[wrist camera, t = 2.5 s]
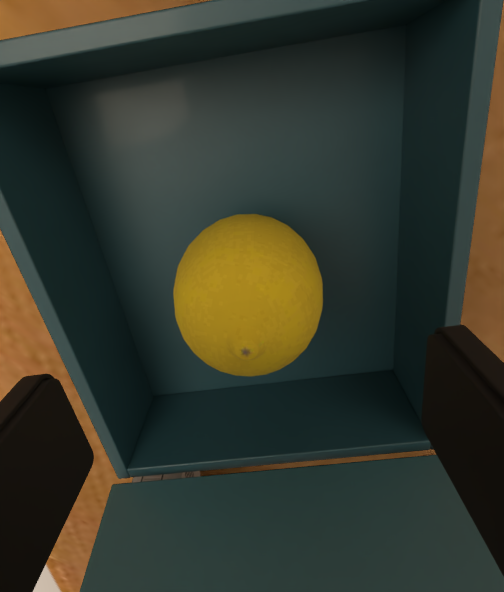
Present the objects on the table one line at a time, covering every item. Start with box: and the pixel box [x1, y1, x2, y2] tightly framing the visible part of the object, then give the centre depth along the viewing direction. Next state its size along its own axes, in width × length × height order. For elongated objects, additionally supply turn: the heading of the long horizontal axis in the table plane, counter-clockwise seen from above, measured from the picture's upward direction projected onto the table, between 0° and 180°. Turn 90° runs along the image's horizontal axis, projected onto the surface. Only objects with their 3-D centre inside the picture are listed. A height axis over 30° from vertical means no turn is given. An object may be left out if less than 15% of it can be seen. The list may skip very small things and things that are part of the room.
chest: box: [0, 0, 503, 479], centre depth 15 cm, size 17×15×6 cm
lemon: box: [173, 214, 323, 377], centre depth 14 cm, size 6×6×8 cm
